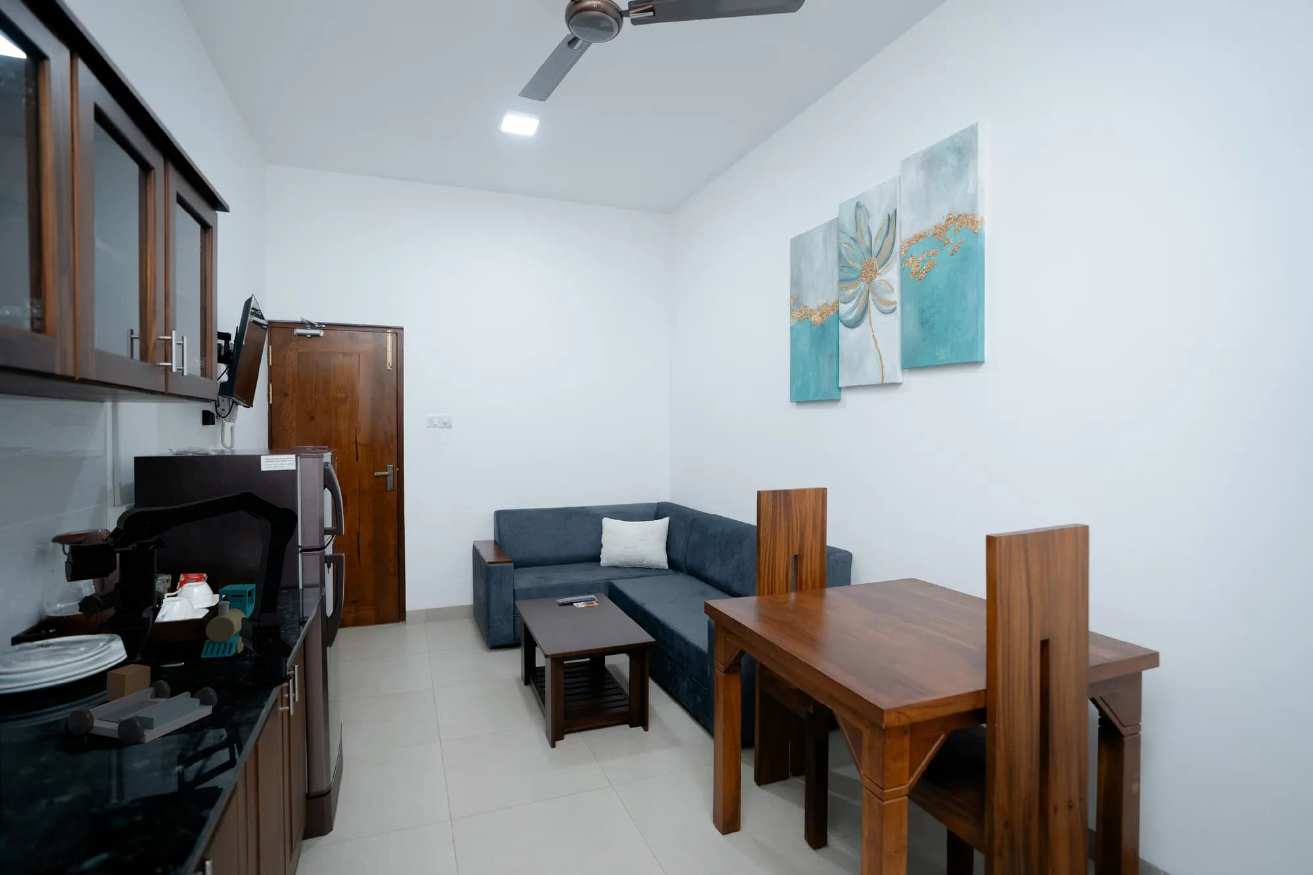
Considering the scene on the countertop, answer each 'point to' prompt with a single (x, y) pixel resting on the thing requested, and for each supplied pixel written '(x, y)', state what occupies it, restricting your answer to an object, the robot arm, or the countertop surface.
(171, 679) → the countertop surface
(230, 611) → the toy train
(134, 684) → the brown cardboard cube
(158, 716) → the chassis
